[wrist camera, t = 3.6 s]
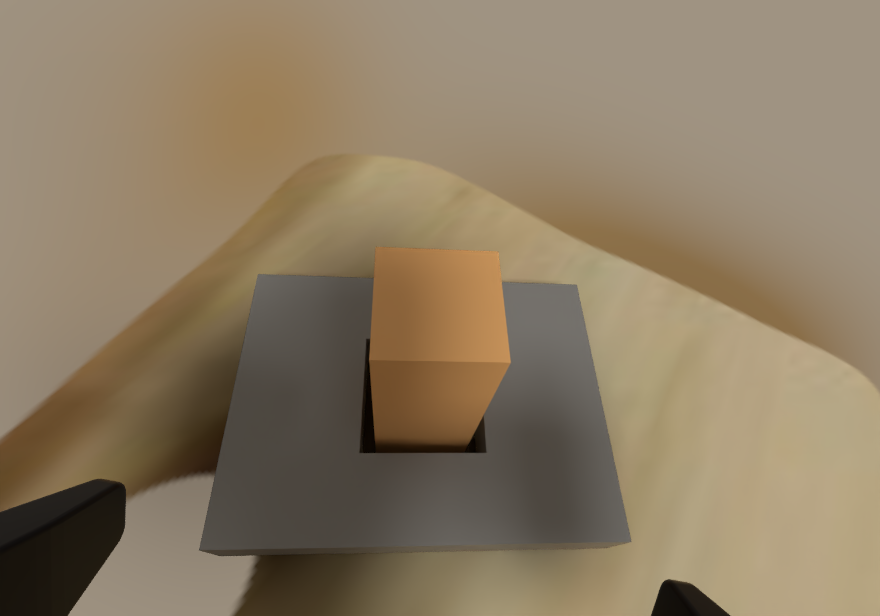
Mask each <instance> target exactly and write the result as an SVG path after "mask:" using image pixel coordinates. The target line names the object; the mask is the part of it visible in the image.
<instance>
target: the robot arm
mask: <svg viewBox="0 0 880 616" xmlns="http://www.w3.org/2000/svg"><path fill="white" fill-rule="evenodd" d="M125 507H126V489H125V486H124V485H123V484H122V483H120V482H116V481H110V480H105V479H95V480H92V481H89V482H86V483H83V484H80V485H77V486H74V487H71V488H69V489H66V490H63V491H60V492H57V493H54V494H51V495H48V496H45V497H42V498H40V499H37V500H34V501H31V502H28V503H25V504H22V505H19V506H16V507H13V508H11V509H8V510H5V511H2V512H0V616H68V614H69V613H70V611H71V610H72V608H73V607H74V606H75V604H76V603H77V601H78V600H79V598H80V597H81V596H82V594H83V593H84V591H85V590H86V588H87V587H88V586H89V584H90V583H91V581H92V580H93V578H94V577H95V575H96V574H97V573H98V571H99V570H100V568H101V567H102V565H103V564H104V563H105V561H106V560H107V558H108V557H109V555H110V554H111V552H112V551H113V550H114V548H115V547H116V545H117V544H118V542H119V541H120V539H121V537H122V534H123V532H124V528H125ZM651 616H730V615H729V614H728V613H727V612H725V611H724V610H723V609H722V608H721V607H719V606H718V605H717V604H716V603H715V602H713V601H712V600H711V599H710V598H709V597H707V596H706V595H705V594H704V593H703V592H701V591H700V590H699V589H698V588H696V587H695V586H694V585H693V584H690V583H687V582H682V581H676V580H671V579H668V580H665V581H664V582H663V583H662V585H661V587H660V590H659V593H658V596H657V599H656V602H655V605H654V608H653V611H652V614H651Z"/></svg>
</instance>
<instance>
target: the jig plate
mask: <svg viewBox="0 0 880 616" xmlns="http://www.w3.org/2000/svg"><path fill="white" fill-rule="evenodd" d="M373 285H374V278H357V277H326V276H296V275H266V274H258V276H257V281H256V286H255V290H254V295H253V300H252V305H251V309H250V314H249V319H248V323H247V328H246V333H245V337H244V342H243V347H242V351H241V356H240V361H239V366H238V370H237V375H236V380H235V384H234V389H233V394H232V398H231V403H230V408H229V412H228V417H227V422H226V427H225V431H224V436H223V441H222V445H221V450H220V455H219V459H218V464H217V469H216V473H215V478H214V483H213V488H212V492H211V497H210V502H209V507H208V511H207V516H206V521H205V525H204V530H203V535H202V540H201V544H200V549H199V550H200V551H203V552H207V553H211V554H214V555H218V556H246V555H294V554H342V553H391V552H439V551H487V550H535V549H584V548H608V547H612V546H617V545H621V544H625V543H629V542H631V538H630V533H629V528H628V523H627V519H626V514H625V509H624V505H623V500H622V495H621V491H620V486H619V481H618V476H617V472H616V467H615V462H614V458H613V453H612V448H611V444H610V439H609V434H608V429H607V425H606V420H605V415H604V411H603V406H602V401H601V396H600V392H599V387H598V382H597V378H596V373H595V368H594V364H593V359H592V354H591V349H590V345H589V340H588V335H587V331H586V326H585V321H584V316H583V312H582V307H581V302H580V298H579V293H578V288H577V285H569V284H539V283H508V282H502V289H503V298H504V307H505V316H506V324H507V333H508V342H509V351H510V360H511V363H510V365H509V367H508V369H507V371H506V373H505V375H504V377H503V379H502V381H501V382H500V384H499V386H498V388H497V390H496V392H495V394H494V396H493V398H492V400H491V402H490V404H489V406H488V407H487V409H486V411H485V413H484V415H483V417H482V419H481V421H480V423H479V425H478V427H477V429H476V431H475V445H476V453H363V442H364V424H365V407H366V390H367V373H368V362H369V355H370V338H371V320H372V303H373Z"/></svg>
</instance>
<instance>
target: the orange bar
mask: <svg viewBox="0 0 880 616" xmlns="http://www.w3.org/2000/svg"><path fill="white" fill-rule="evenodd" d="M510 363H511V360H510V351H509V342H508V333H507V324H506V316H505V307H504V298H503V289H502V280H501V272H500V263H499V254H498V252H495V251H469V250H444V249H418V248H393V247H376V250H375V267H374V285H373V303H372V320H371V338H370V355H369V364H370V378H371V391H372V405H373V419H374V432H375V446H376V453H464V452H465V450H466V448H467V446H468V444H469V442H470V440H471V438H472V436H473V434H474V433H475V431H476V429H477V427H478V425H479V423H480V421H481V419H482V417H483V415H484V413H485V411H486V409H487V407H488V406H489V404H490V402H491V400H492V398H493V396H494V394H495V392H496V390H497V388H498V386H499V384H500V382H501V381H502V379H503V377H504V375H505V373H506V371H507V369H508V367H509V365H510Z"/></svg>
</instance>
